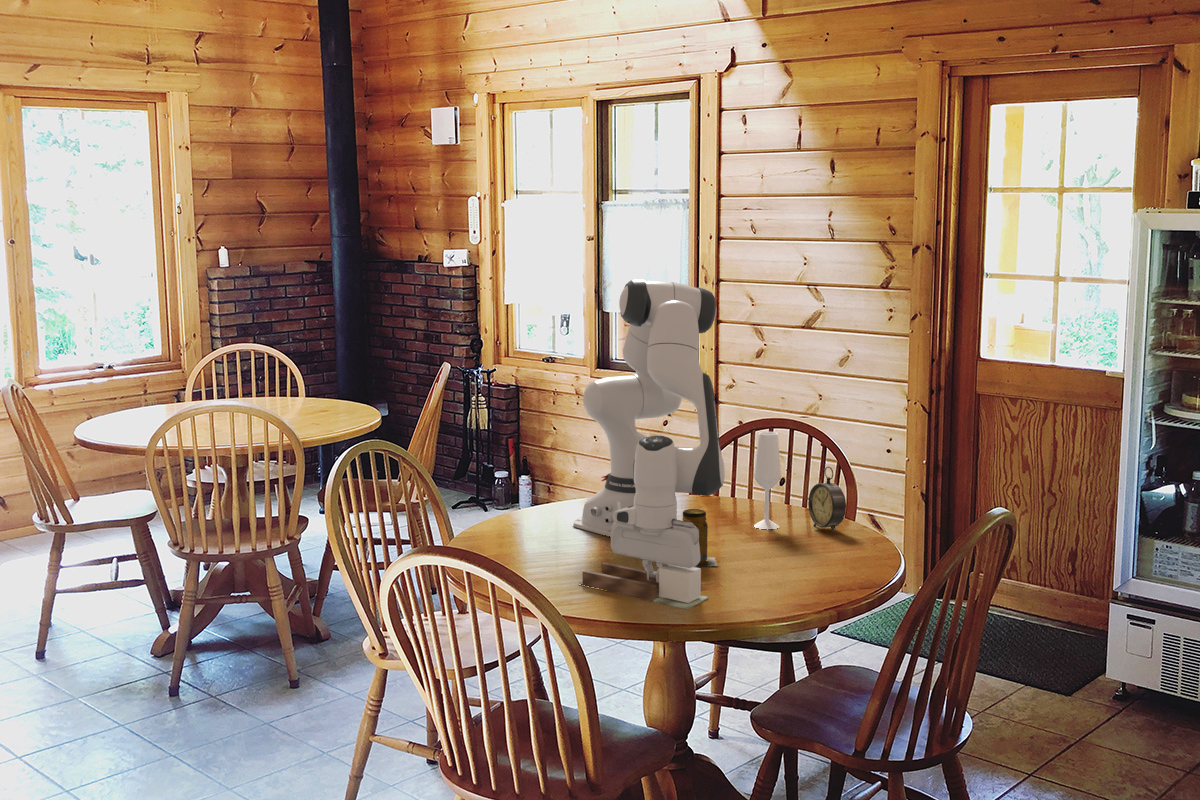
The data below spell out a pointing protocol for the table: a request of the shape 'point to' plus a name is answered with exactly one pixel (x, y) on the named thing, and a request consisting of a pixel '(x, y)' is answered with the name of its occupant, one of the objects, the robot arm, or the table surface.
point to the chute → (631, 584)
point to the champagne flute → (767, 471)
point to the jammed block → (679, 583)
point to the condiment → (700, 534)
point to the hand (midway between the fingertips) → (654, 580)
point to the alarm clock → (827, 504)
